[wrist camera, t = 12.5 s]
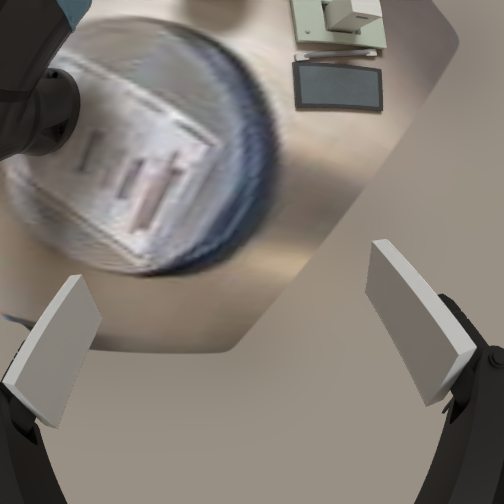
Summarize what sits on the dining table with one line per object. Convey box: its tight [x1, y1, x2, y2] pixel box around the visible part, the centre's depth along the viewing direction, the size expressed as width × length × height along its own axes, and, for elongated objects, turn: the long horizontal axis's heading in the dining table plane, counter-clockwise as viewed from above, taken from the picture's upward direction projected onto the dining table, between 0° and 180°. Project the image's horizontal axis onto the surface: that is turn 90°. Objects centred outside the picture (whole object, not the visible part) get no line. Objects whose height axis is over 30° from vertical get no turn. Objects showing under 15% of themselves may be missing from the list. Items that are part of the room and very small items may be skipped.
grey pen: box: [294, 49, 377, 61], centre depth 32 cm, size 13×1×1 cm, turn 104°
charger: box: [325, 0, 382, 32], centre depth 25 cm, size 4×4×10 cm
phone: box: [292, 62, 383, 111], centre depth 35 cm, size 14×7×1 cm, turn 94°
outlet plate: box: [290, 0, 387, 50], centre depth 27 cm, size 14×14×2 cm
